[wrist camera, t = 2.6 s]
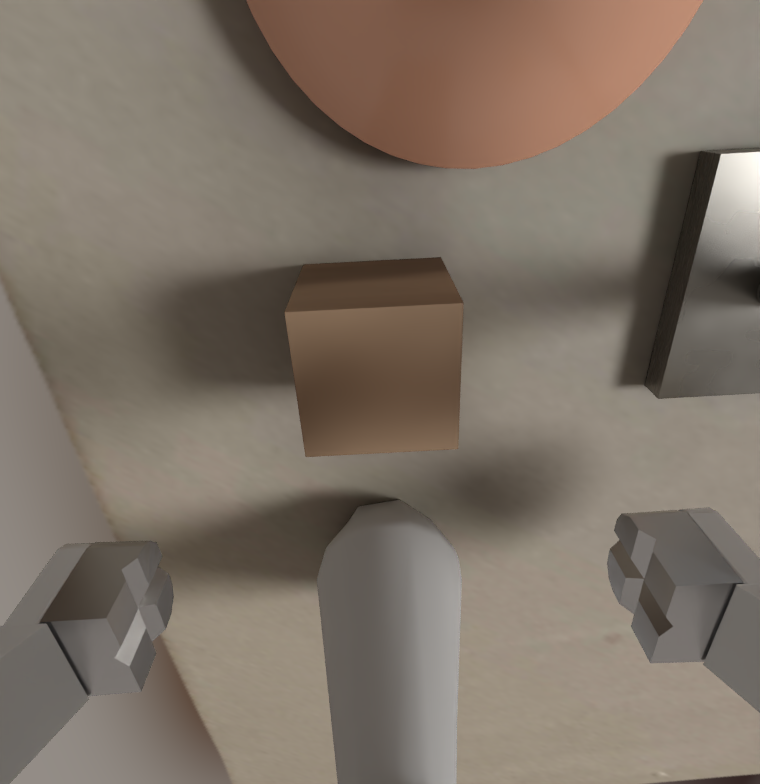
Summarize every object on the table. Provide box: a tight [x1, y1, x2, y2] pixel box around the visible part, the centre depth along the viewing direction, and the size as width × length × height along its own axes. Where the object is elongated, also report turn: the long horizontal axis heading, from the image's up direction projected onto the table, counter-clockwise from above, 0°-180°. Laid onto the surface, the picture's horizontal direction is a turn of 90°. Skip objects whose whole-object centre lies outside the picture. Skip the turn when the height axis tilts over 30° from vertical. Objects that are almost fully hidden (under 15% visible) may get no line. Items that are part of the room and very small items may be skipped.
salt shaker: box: [317, 500, 462, 784], centre depth 17 cm, size 6×6×13 cm
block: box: [284, 257, 463, 457], centre depth 16 cm, size 4×4×4 cm
